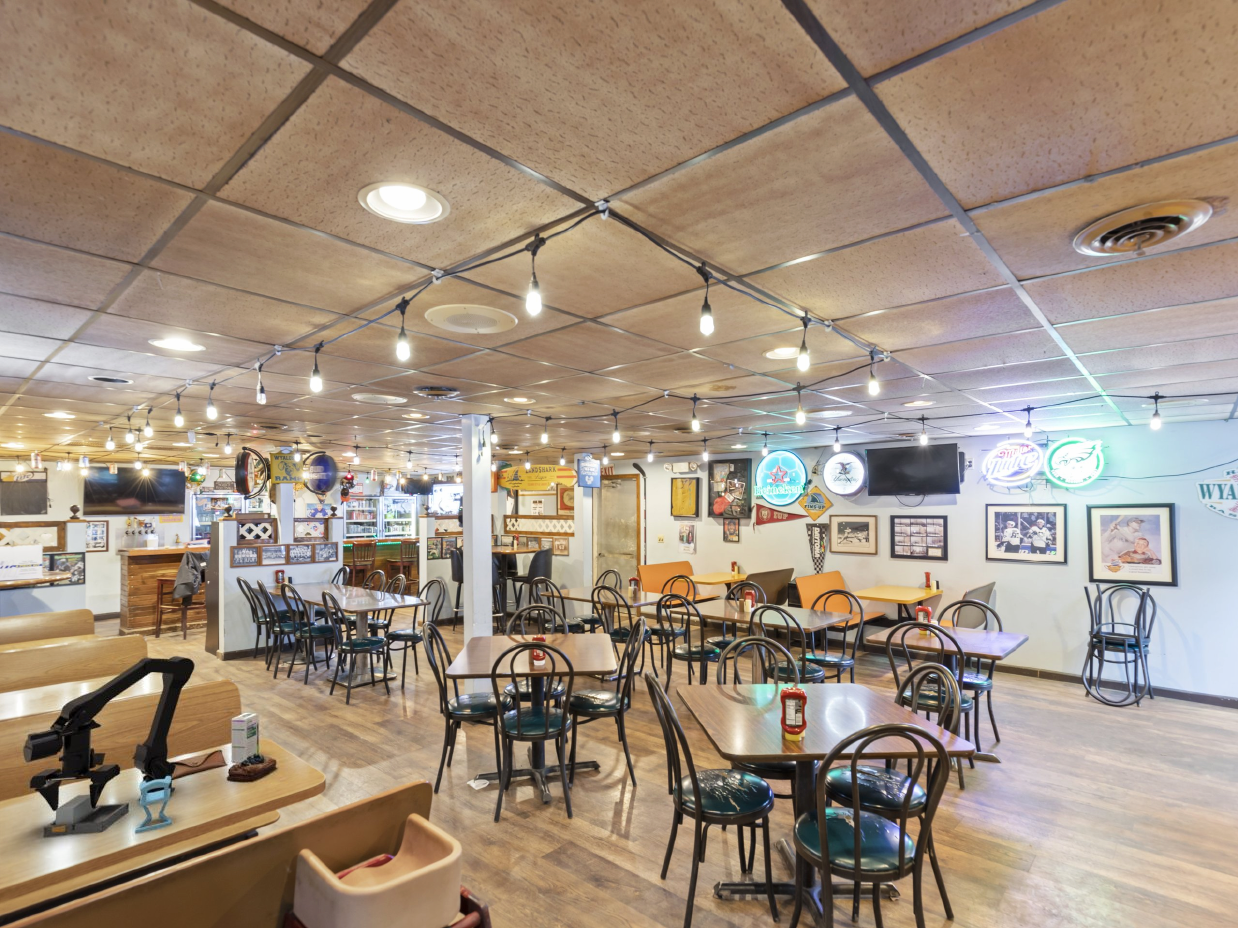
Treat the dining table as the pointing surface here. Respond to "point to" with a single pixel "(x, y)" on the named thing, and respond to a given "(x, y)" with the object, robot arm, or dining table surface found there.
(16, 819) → the dining table surface
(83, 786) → the dining table surface
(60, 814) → the grey rectangular block
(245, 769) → the pastry
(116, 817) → the dark grey flat tray
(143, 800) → the chair
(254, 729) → the syrup box
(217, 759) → the sunglasses case
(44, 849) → the dining table surface
